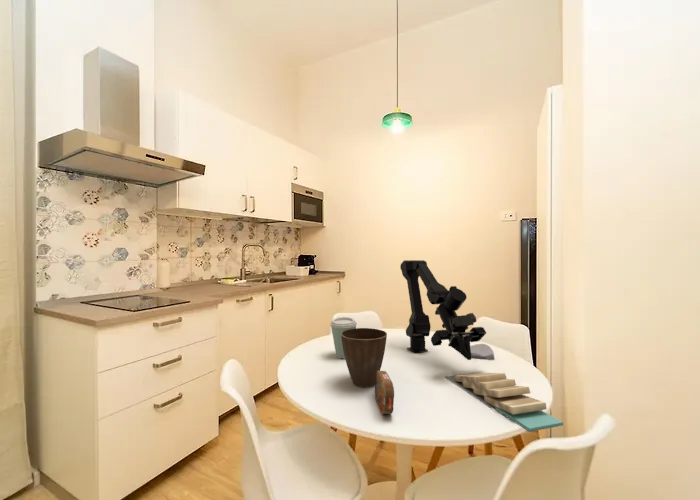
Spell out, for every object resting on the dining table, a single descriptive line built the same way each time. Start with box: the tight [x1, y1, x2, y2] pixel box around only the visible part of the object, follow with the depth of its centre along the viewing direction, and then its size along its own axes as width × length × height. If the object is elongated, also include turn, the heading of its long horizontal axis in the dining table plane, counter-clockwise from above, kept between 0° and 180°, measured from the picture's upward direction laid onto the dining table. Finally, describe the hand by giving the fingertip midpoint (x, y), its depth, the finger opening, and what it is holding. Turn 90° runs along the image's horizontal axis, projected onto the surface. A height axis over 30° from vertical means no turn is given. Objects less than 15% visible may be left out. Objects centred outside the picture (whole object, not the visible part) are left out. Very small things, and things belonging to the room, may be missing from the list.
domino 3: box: [473, 385, 531, 398], centre depth 88 cm, size 2×10×11 cm
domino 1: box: [454, 372, 507, 383], centre depth 97 cm, size 2×10×12 cm
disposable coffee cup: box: [330, 316, 357, 360], centre depth 127 cm, size 11×11×15 cm
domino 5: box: [495, 407, 564, 433], centre depth 79 cm, size 2×10×11 cm
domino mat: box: [444, 372, 496, 409], centre depth 96 cm, size 22×12×1 cm, turn 16°
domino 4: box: [484, 394, 547, 414], centre depth 83 cm, size 2×10×11 cm
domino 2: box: [462, 378, 517, 390], centre depth 93 cm, size 2×10×11 cm
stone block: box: [470, 343, 495, 361], centre depth 127 cm, size 12×5×10 cm
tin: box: [374, 370, 395, 415], centre depth 86 cm, size 15×3×8 cm, turn 5°
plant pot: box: [341, 327, 388, 388], centre depth 101 cm, size 15×15×16 cm
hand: (469, 359), depth 101 cm, fingers closed
